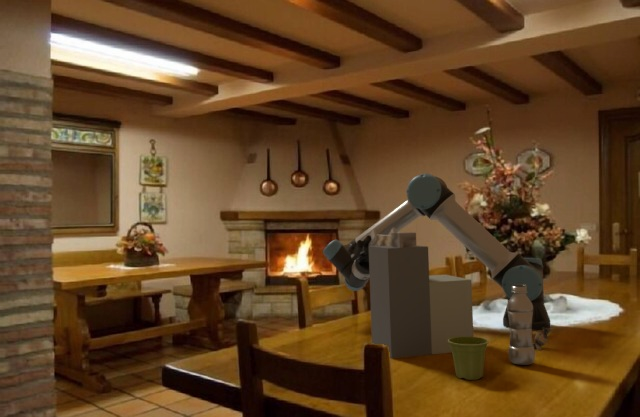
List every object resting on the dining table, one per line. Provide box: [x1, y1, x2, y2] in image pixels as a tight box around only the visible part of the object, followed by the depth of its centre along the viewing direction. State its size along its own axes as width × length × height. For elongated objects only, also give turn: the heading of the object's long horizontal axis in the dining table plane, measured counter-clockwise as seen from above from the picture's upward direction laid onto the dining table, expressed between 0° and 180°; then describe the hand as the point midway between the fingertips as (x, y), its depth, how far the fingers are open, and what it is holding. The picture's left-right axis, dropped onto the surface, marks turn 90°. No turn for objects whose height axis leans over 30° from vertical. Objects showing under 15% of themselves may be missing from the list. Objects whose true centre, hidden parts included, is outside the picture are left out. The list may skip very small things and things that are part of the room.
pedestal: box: [369, 244, 474, 359], centre depth 160 cm, size 16×25×30 cm, turn 104°
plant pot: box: [448, 336, 489, 381], centre depth 130 cm, size 9×9×9 cm
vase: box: [533, 327, 552, 351], centre depth 156 cm, size 5×5×6 cm
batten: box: [373, 231, 417, 248], centre depth 165 cm, size 28×5×4 cm, turn 14°
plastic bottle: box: [506, 285, 536, 366], centre depth 140 cm, size 6×7×20 cm
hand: (384, 231), depth 168 cm, fingers open, 6 cm apart
